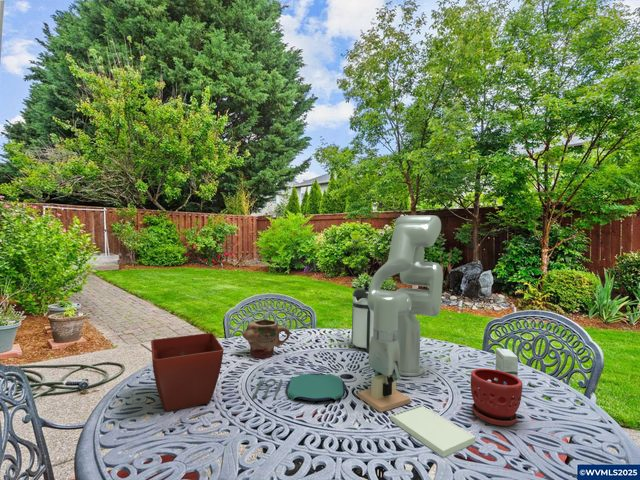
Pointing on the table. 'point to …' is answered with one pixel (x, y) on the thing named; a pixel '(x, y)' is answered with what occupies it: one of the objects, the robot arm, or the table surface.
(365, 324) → the coffee press
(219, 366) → the plant pot
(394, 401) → the light switch
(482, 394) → the plant pot
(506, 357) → the ink box
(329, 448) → the table surface
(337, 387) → the cutlery set
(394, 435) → the table surface
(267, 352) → the brown sculpted mug
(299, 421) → the table surface
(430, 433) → the pale green notepad
